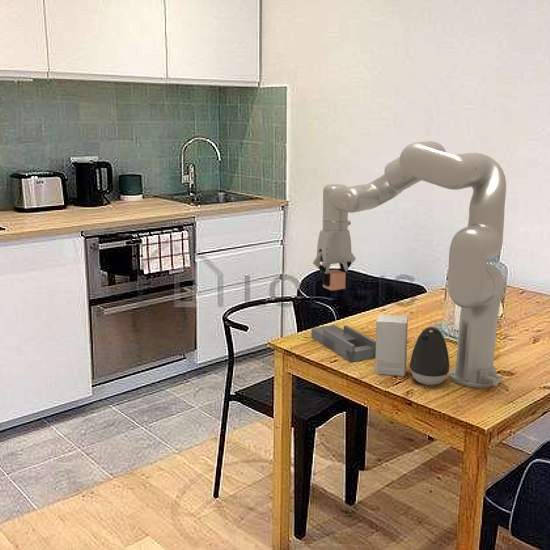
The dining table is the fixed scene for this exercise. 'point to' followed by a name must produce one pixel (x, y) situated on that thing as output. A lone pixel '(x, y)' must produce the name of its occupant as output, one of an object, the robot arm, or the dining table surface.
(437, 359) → the egg-shaped speaker
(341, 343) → the trough
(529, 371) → the dining table surface
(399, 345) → the skincare box
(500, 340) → the dining table surface
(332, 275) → the block
